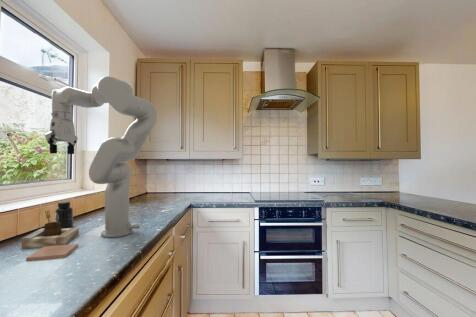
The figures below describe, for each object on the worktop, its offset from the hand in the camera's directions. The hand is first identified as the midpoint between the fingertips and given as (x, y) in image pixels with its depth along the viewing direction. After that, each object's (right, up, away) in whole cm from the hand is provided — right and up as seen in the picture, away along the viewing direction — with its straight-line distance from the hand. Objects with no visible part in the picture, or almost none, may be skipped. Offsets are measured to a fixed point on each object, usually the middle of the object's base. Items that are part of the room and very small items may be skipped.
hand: (62, 153), depth 121 cm
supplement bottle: (-1, -35, +3) cm, 35 cm away
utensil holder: (+8, -35, -18) cm, 40 cm away
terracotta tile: (+19, -35, -32) cm, 51 cm away
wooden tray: (+8, -35, -18) cm, 40 cm away
